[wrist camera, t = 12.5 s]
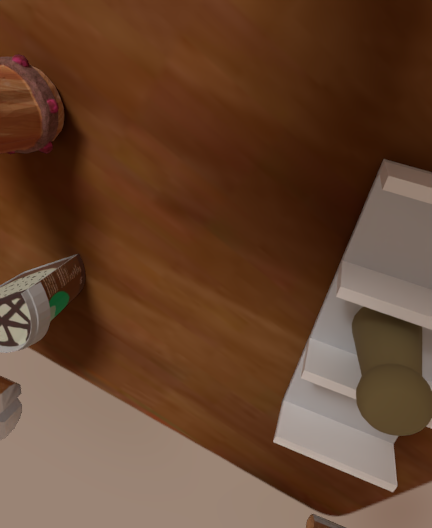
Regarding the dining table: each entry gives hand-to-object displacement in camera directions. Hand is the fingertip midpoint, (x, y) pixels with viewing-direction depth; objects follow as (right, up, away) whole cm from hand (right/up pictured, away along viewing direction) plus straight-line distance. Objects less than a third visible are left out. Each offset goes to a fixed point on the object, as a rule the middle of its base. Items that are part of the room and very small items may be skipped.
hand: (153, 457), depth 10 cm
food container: (-17, +2, +39) cm, 42 cm away
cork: (+17, -1, +27) cm, 32 cm away
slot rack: (+18, 0, +27) cm, 33 cm away
